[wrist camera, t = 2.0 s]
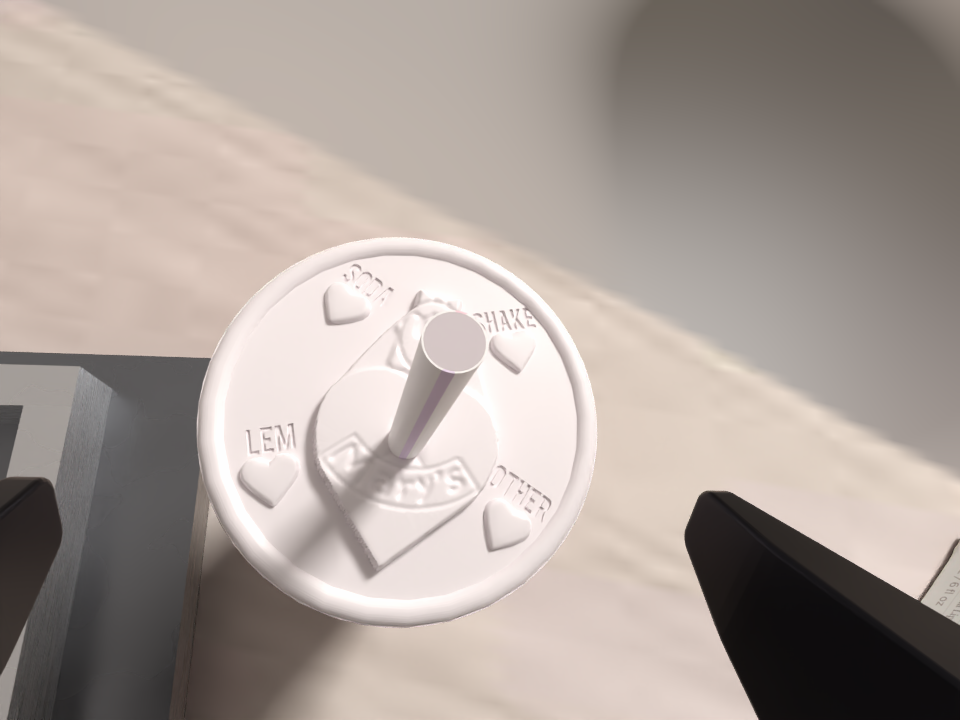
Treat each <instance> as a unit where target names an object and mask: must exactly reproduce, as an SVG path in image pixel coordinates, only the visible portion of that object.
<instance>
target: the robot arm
mask: <svg viewBox="0 0 960 720" xmlns="http://www.w3.org/2000/svg"><path fill="white" fill-rule="evenodd" d="M62 535H63V528H62V523H61V518H60V513H59V509H58V504H57V500H56V495H55V491H54V487H53V484H52V483H51V481H50V480H49V479H47V478H44V477H21V476H14V477H7V478H4V479H2V480H0V676H1V674H2V672H3V671H4V669H5V667H6V665H7V662H8V660H9V658H10V656H11V654H12V652H13V650H14V648H15V646H16V644H17V641H18V639H19V637H20V635H21V632H22V630H23V628H24V626H25V624H26V621H27V619H28V617H29V615H30V612H31V610H32V608H33V606H34V603H35V601H36V599H37V597H38V595H39V592H40V590H41V588H42V586H43V583H44V581H45V579H46V577H47V574H48V572H49V570H50V568H51V566H52V563H53V561H54V559H55V557H56V554H57V552H58V550H59V547H60V545H61V541H62ZM685 545H686V548H687V551H688V554H689V557H690V559H691V562H692V565H693V567H694V570H695V573H696V575H697V578H698V581H699V584H700V586H701V589H702V592H703V594H704V597H705V600H706V602H707V605H708V608H709V611H710V613H711V616H712V619H713V621H714V624H715V626H716V629H717V631H718V634H719V636H720V639H721V641H722V643H723V646H724V648H725V650H726V652H727V654H728V657H729V659H730V661H731V663H732V665H733V667H734V669H735V671H736V673H737V675H738V677H739V680H740V682H741V684H742V686H743V688H744V690H745V692H746V694H747V696H748V698H749V700H750V703H751V705H752V707H753V709H754V711H755V713H756V715H757V717H758V719H759V720H960V625H959V624H957V623H956V622H954V621H952V620H950V619H949V618H947V617H945V616H944V615H942V614H940V613H938V612H937V611H935V610H933V609H931V608H930V607H928V606H926V605H925V604H923V603H921V602H919V601H918V600H916V599H914V598H912V597H911V596H909V595H907V594H906V593H904V592H902V591H900V590H899V589H897V588H895V587H893V586H892V585H890V584H888V583H887V582H885V581H883V580H881V579H880V578H878V577H876V576H874V575H873V574H871V573H869V572H868V571H866V570H864V569H862V568H861V567H859V566H857V565H855V564H854V563H852V562H850V561H849V560H847V559H845V558H843V557H842V556H840V555H838V554H837V553H835V552H833V551H831V550H830V549H828V548H826V547H824V546H823V545H821V544H819V543H818V542H816V541H814V540H812V539H811V538H809V537H807V536H805V535H804V534H802V533H800V532H799V531H797V530H795V529H793V528H792V527H790V526H788V525H786V524H785V523H783V522H781V521H780V520H778V519H776V518H774V517H773V516H771V515H769V514H767V513H766V512H764V511H762V510H761V509H759V508H757V507H755V506H754V505H752V504H750V503H748V502H747V501H745V500H743V499H742V498H740V497H738V496H736V495H735V494H733V493H731V492H728V491H705V492H703V493H702V494H701V495H700V496H699V497H698V499H697V502H696V504H695V507H694V509H693V512H692V514H691V517H690V519H689V522H688V524H687V526H686V529H685Z"/></svg>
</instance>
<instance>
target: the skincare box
mask: <svg viewBox="0 0 960 720" xmlns="http://www.w3.org/2000/svg"><path fill="white" fill-rule="evenodd" d="M921 603H923V604H925V605H926V606H928V607H930V608H931V609H933V610H935V611H937V612H938V613H940V614H942V615H944V616H945V617H947V618H949V619H950V620H952V621H954V622H956V623H957V624H959V625H960V541H959V543H958V544H957V546H956V547H955V548H954V550H953V554H952V556H951V558H950V559H949V561H948V562H947V564H946V565H945V567H944V568H943V570H942V571H941V573H940V574H939V576H938V577H937V579H936V580H935V582H934V583H933V585H932V586H931V588H930V589H929V591H928V592H927V594H926V595H925V596H924V598H923V599H922V600H921Z"/></svg>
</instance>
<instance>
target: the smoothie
mask: <svg viewBox="0 0 960 720" xmlns="http://www.w3.org/2000/svg"><path fill="white" fill-rule="evenodd" d="M197 448H198V456H199V464H200V469H201V473H202V477H203V482H204V486H205V488H206V491H207V494H208V497H209V500H210V503H211V505H212V508H213V510H214V512H215V514H216V516H217V518H218V520H219V522H220V524H221V526H222V527H223V529H224V531H225V532H226V534H227V535H228V537H229V538H230V540H231V542H232V543H233V545H234V546H235V547H236V548H237V550H238V551H239V552H240V553H241V555H242V556H243V557H244V558H245V559H246V561H247V562H248V563H249V564H250V565H251V566H252V567H253V568H254V569H255V570H256V571H257V572H258V573H259V574H260V575H261V576H262V577H263V578H265V579H266V580H267V581H269V582H270V583H271V584H272V585H274V586H275V587H276V588H277V589H279V590H280V591H281V592H283V593H285V594H286V595H288V596H289V597H291V598H293V599H294V600H296V601H297V602H299V603H301V604H303V605H305V606H307V607H309V608H311V609H314V610H316V611H318V612H320V613H323V614H326V615H328V616H331V617H334V618H337V619H340V620H344V621H348V622H352V623H357V624H361V625H368V626H376V627H385V628H410V627H420V626H430V625H434V624H439V623H444V622H449V621H452V620H456V619H459V618H462V617H465V616H468V615H471V614H473V613H476V612H478V611H480V610H482V609H485V608H487V607H489V606H491V605H493V604H495V603H496V602H498V601H500V600H501V599H503V598H505V597H507V596H508V595H510V594H511V593H513V592H514V591H515V590H517V589H518V588H519V587H521V586H522V585H524V584H525V583H526V582H527V581H528V580H529V579H531V578H532V577H533V576H534V575H535V574H536V573H537V572H538V571H540V570H541V568H542V567H543V566H544V565H545V564H546V563H547V562H548V561H549V560H550V559H551V557H552V556H553V555H554V554H555V553H556V551H557V550H558V548H559V547H560V546H561V544H562V543H563V542H564V540H565V539H566V537H567V536H568V534H569V532H570V531H571V529H572V527H573V525H574V524H575V522H576V520H577V518H578V515H579V513H580V511H581V509H582V507H583V504H584V502H585V499H586V496H587V493H588V490H589V487H590V483H591V479H592V475H593V471H594V464H595V458H596V448H597V418H596V410H595V403H594V397H593V393H592V388H591V384H590V380H589V377H588V374H587V371H586V368H585V365H584V363H583V361H582V358H581V356H580V354H579V351H578V349H577V347H576V346H575V344H574V342H573V340H572V338H571V336H570V334H569V333H568V331H567V330H566V328H565V327H564V325H563V324H562V322H561V321H560V320H559V318H558V317H557V316H556V314H555V313H554V312H553V311H552V309H551V308H550V307H549V306H548V305H547V304H546V303H545V302H544V301H543V299H542V298H541V297H540V296H539V295H538V294H537V293H536V292H534V291H533V290H532V289H531V288H530V287H529V286H528V285H527V284H525V283H524V282H523V281H522V280H520V279H519V278H518V277H516V276H515V275H514V274H512V273H511V272H509V271H508V270H506V269H504V268H503V267H501V266H500V265H498V264H496V263H494V262H492V261H490V260H488V259H487V258H485V257H483V256H480V255H478V254H476V253H473V252H471V251H468V250H466V249H463V248H459V247H456V246H453V245H450V244H446V243H441V242H437V241H432V240H425V239H419V238H404V237H388V238H374V239H365V240H360V241H355V242H350V243H345V244H342V245H339V246H335V247H332V248H329V249H326V250H324V251H321V252H319V253H316V254H314V255H311V256H309V257H307V258H305V259H303V260H301V261H299V262H297V263H296V264H294V265H292V266H291V267H289V268H288V269H286V270H284V271H283V272H281V273H280V274H278V275H277V276H276V277H274V278H273V279H272V280H271V281H269V282H268V283H267V284H265V285H264V286H263V287H262V288H261V289H260V290H259V291H258V292H257V293H256V294H255V295H253V296H252V297H251V298H250V300H249V301H248V302H247V303H246V304H245V305H244V306H243V308H242V309H241V310H240V311H239V312H238V314H237V315H236V316H235V318H234V319H233V320H232V322H231V323H230V325H229V326H228V327H227V329H226V331H225V333H224V334H223V336H222V338H221V339H220V341H219V343H218V345H217V347H216V349H215V351H214V354H213V356H212V358H211V360H210V363H209V366H208V369H207V372H206V375H205V378H204V381H203V385H202V390H201V394H200V399H199V406H198V416H197Z"/></svg>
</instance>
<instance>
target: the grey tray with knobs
mask: <svg viewBox="0 0 960 720" xmlns="http://www.w3.org/2000/svg"><path fill="white" fill-rule="evenodd" d="M210 360H211V358H187V357H156V356H125V355H94V354H63V353H32V352H0V480H2V479H4V478H7V477H14V476H21V477H44V478H47V479H49V480H50V481H51V483H52V484H53V487H54V491H55V495H56V500H57V504H58V509H59V513H60V518H61V523H62V528H63V535H62V541H61V545H60V547H59V550H58V552H57V554H56V557H55V559H54V561H53V563H52V566H51V568H50V570H49V572H48V574H47V577H46V579H45V581H44V583H43V586H42V588H41V590H40V592H39V595H38V597H37V599H36V601H35V603H34V606H33V608H32V610H31V612H30V615H29V617H28V619H27V621H26V624H25V626H24V628H23V630H22V632H21V635H20V637H19V639H18V641H17V644H16V646H15V648H14V650H13V652H12V654H11V656H10V658H9V660H8V662H7V665H6V667H5V669H4V671H3V672H2V674H1V676H0V720H184V714H185V706H186V697H187V689H188V680H189V671H190V663H191V654H192V646H193V637H194V629H195V620H196V612H197V603H198V594H199V586H200V577H201V569H202V560H203V552H204V543H205V535H206V526H207V517H208V509H209V497H208V494H207V491H206V488H205V486H204V482H203V477H202V473H201V469H200V464H199V456H198V448H197V416H198V406H199V399H200V394H201V390H202V385H203V381H204V378H205V375H206V372H207V369H208V366H209V363H210Z"/></svg>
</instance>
